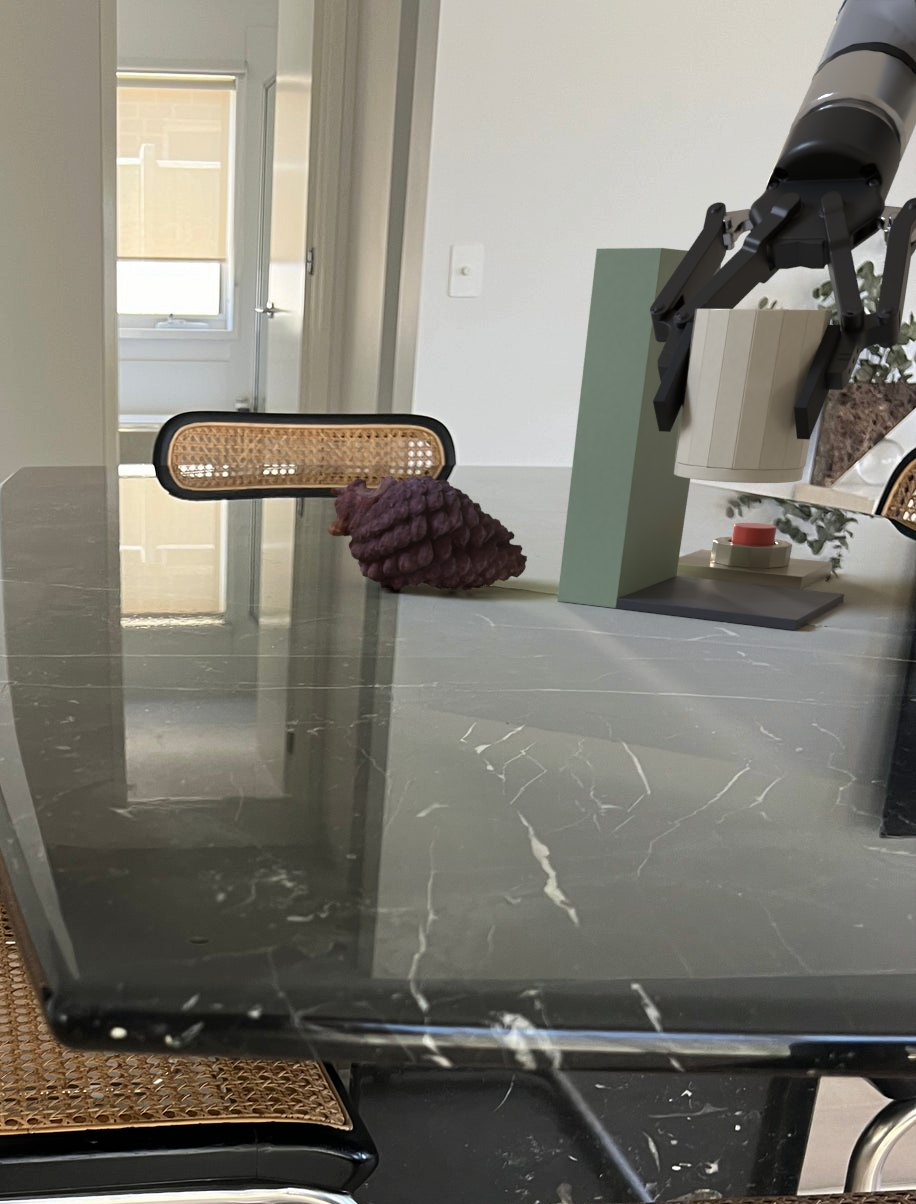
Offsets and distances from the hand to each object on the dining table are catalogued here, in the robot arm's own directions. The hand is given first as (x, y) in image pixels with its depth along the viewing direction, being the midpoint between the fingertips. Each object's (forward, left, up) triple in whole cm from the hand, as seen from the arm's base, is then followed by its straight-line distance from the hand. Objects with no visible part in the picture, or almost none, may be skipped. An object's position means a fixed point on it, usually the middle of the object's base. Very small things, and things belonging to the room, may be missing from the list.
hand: (730, 419), depth 92 cm
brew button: (+8, -40, -13) cm, 43 cm away
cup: (0, -3, -4) cm, 5 cm away
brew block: (+8, -40, -16) cm, 44 cm away
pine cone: (+28, -15, -16) cm, 36 cm away
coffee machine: (+8, -24, -16) cm, 30 cm away
